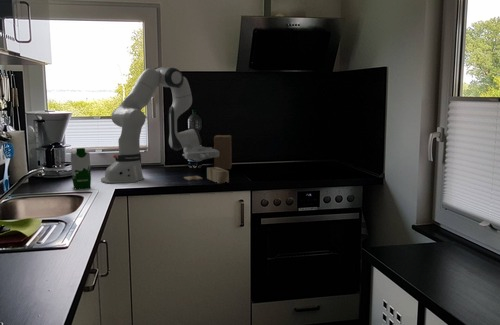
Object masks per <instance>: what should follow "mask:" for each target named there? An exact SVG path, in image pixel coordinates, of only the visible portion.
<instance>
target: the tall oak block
mask: <svg viewBox="0 0 500 325" xmlns="http://www.w3.org/2000/svg"><path fill="white" fill-rule="evenodd" d="M229 172H230V171H229V170H228V169H221V168H218V167H214V166H211V167H206V179H207V180H209V181H213V182H215V183H216V182H217V183H216V184H225V182H227V183H230V178H229V177H230V173H229Z"/></svg>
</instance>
